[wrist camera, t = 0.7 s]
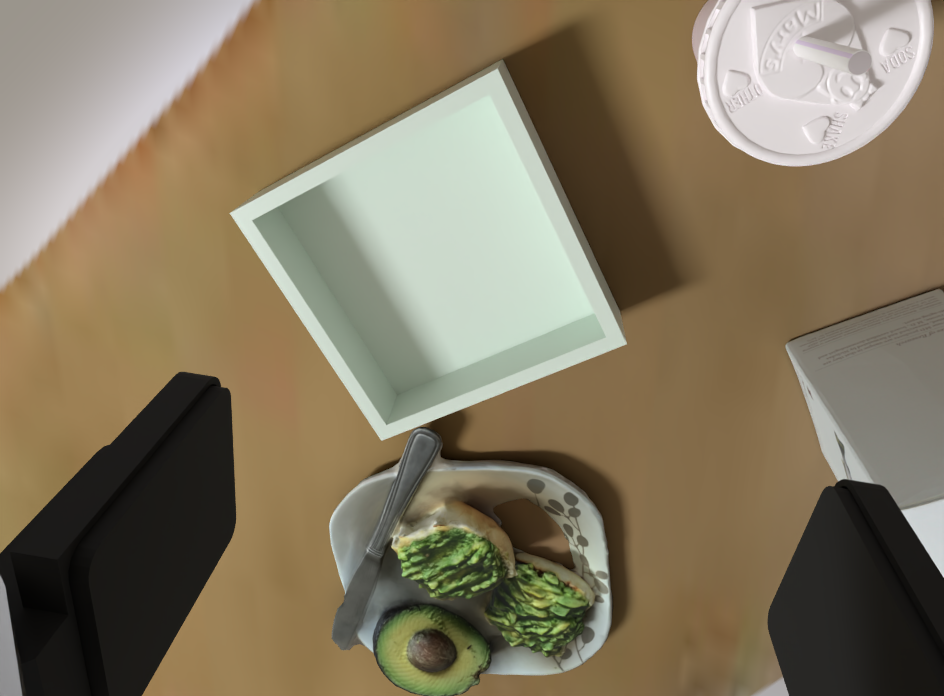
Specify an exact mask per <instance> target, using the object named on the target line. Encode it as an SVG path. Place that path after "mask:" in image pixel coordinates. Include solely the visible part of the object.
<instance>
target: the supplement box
mask: <svg viewBox="0 0 944 696" xmlns="http://www.w3.org/2000/svg"><path fill="white" fill-rule="evenodd" d="M785 347H786V350H787V352H788V354H789V357H790V359H791V361H792V364H793V366H794V369H795V371H796V374H797V376H798V379H799V381H800V384H801V387H802V390H803V393H804V396H805V399H806V402H807V405H808V408H809V410H810V413H811V417H812V420H813V422H814V426H815V429H816V432H817V435H818V439H819V442H820V446H821V449H822V453H823V455H824V456H825V458H826V460H827V461H828V463H829V465H830V467H831V469H832V471H833V472H834V474H835V476H836V478H837V480H838V481H840V480H842V479H848V480H855V481H861V482H867V483H873V484H879V485H882V486H884V487H885V488H886V489H887V490H888V491H889V493H890V494H891V496H892V497H893V499H894V500H895V502H896V504H897V505H898V507H899V508H900V510H901V511H902V513H903V515H904V516H905V518H906V519H907V521H908V522H909V524H910V526H911V527H912V529H913V530H914V532H915V533H916V535H917V537H918V538H919V540H920V541H921V543H922V544H923V546H924V547H925V549H926V551H927V552H928V554H929V555H930V557H931V558H932V560H933V562H934V563H935V565H936V566H937V568H938V569H939V571H940V573H941V574H942V576H943V577H944V292H943V291H942V290H941V289H936V290H934V291H931V292H927V293H925V294H922V295H919V296H916V297H913V298H910V299H907V300H904V301H901V302H899V303H896V304H893V305H890V306H888V307H884V308H881V309H878V310H876V311H873V312H870V313H867V314H865V315H862V316H859V317H856V318H853V319H850V320H847V321H844V322H842V323H839V324H836V325H833V326H830V327H827V328H825V329H822V330H819V331H817V332H814V333H811V334H807V335H805V336H802V337H800V338H797V339H795V340H792V341H790V342H788V343H787V344H786V346H785Z"/></svg>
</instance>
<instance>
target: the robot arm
mask: <svg viewBox="0 0 944 696" xmlns="http://www.w3.org/2000/svg"><path fill="white" fill-rule="evenodd" d="M235 524H236V503H235V479H234V456H233V433H232V410H231V394H230V391H229V389H228V388H223V387H221V384H220V381H219V379H218V378H216V377H212V376H206V375H200V374H194V373H188V372H179V373H178V374H176V375H175V376H174V377H173V378H172V379H171V380H170V381H169V383H168V384H167V385H166V386H165V387H164V388H163V389H162V390H161V391H160V392H159V393H158V394H157V395H156V396H155V397H154V398H153V400H152V401H151V402H150V403H149V404H148V405H147V406H146V407H145V408H144V409H143V410H142V411H141V412H140V413H139V414H138V415H137V417H136V418H135V419H134V420H133V421H132V422H131V423H130V424H129V425H128V426H127V427H126V428H125V429H124V430H123V431H122V432H121V434H120V435H119V436H118V437H117V438H116V439H115V440H114V441H113V442H112V443H111V444H110V445H107V446H104V447H103V448H102V449H100V450H99V451H98V452H97V453H96V454H95V455H94V456H93V457H92V458H91V459H90V460H89V461H88V462H87V463H86V464H85V465H84V466H83V467H82V468H81V469H80V470H79V471H78V473H77V474H76V475H75V476H74V477H73V478H72V479H71V480H70V481H69V482H68V483H67V484H66V485H65V486H64V487H63V488H62V489H61V490H60V491H59V492H58V494H57V495H56V496H55V497H54V498H53V499H52V500H51V501H50V502H49V503H48V504H47V505H46V506H45V507H44V508H43V509H42V510H41V511H40V512H39V513H38V514H37V516H36V517H35V518H34V519H33V520H32V521H31V522H30V523H29V524H28V525H27V526H26V527H25V528H24V529H23V530H22V531H21V532H20V533H19V534H18V535H17V536H16V538H15V539H14V540H13V541H12V542H11V543H10V544H9V545H8V546H7V547H6V548H5V549H4V550H3V551H2V552H1V553H0V696H142V694H143V693H144V691H145V689H146V687H147V686H148V684H149V682H150V680H151V679H152V677H153V675H154V673H155V672H156V670H157V668H158V666H159V665H160V663H161V661H162V659H163V658H164V656H165V654H166V652H167V651H168V649H169V647H170V645H171V644H172V642H173V640H174V638H175V637H176V635H177V633H178V631H179V630H180V628H181V626H182V624H183V623H184V621H185V619H186V617H187V616H188V614H189V612H190V610H191V609H192V607H193V605H194V603H195V602H196V600H197V598H198V596H199V595H200V593H201V591H202V589H203V588H204V586H205V584H206V582H207V581H208V579H209V577H210V575H211V574H212V572H213V570H214V568H215V567H216V565H217V563H218V561H219V560H220V558H221V556H222V554H223V553H224V551H225V549H226V547H227V546H228V544H229V542H230V540H231V538H232V535H233V533H234V529H235ZM768 630H769V634H770V637H771V640H772V643H773V646H774V650H775V653H776V656H777V659H778V662H779V665H780V668H781V671H782V675H783V678H784V681H785V684H786V687H787V690H788V693H789V696H944V577H943V576H942V574H941V573H940V571H939V569H938V568H937V566H936V565H935V563H934V562H933V560H932V558H931V557H930V555H929V554H928V552H927V551H926V549H925V547H924V546H923V544H922V543H921V541H920V540H919V538H918V537H917V535H916V533H915V532H914V530H913V529H912V527H911V526H910V524H909V522H908V521H907V519H906V518H905V516H904V515H903V513H902V511H901V510H900V508H899V507H898V505H897V504H896V502H895V500H894V499H893V497H892V496H891V494H890V493H889V491H888V490H887V489H886V488H885V487H884V486H882V485H879V484H873V483H867V482H861V481H855V480H848V479H842V480H840V481H838V482H837V483H836V485H835V486H834V487H833V486H828V487H826V488H825V489H824V490H823V492H822V493H821V496H820V498H819V500H818V502H817V504H816V507H815V509H814V511H813V513H812V515H811V518H810V520H809V522H808V524H807V526H806V529H805V531H804V533H803V535H802V538H801V540H800V542H799V544H798V546H797V549H796V551H795V553H794V555H793V557H792V560H791V562H790V564H789V566H788V568H787V571H786V573H785V575H784V577H783V579H782V582H781V584H780V586H779V588H778V591H777V593H776V595H775V597H774V599H773V602H772V604H771V606H770V609H769V613H768Z"/></svg>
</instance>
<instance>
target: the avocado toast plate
mask: <svg viewBox="0 0 944 696" xmlns="http://www.w3.org/2000/svg"><path fill="white" fill-rule="evenodd" d="M442 445H443V444H442V439H441V436H440V435H439V434H438V433H437V432H435V431H434V430H432V429H429V428H426V427H419V428H416V429H415V430H413V431H412V433H411V434H410V437H409V440H408V442H407V445H406V447H405V450H404V453H403V455H402V458H401V459H400V461H399V463H398V464H396V465H395V466H394V467H392V468H390V469H387V470H385V471H383V472H381V473H378V474H375V475H373V476H370V477H368V478H365V479H364V480H362V481H361V482H360V483H359V484H358V485H357V486H356V487H355V488H354V489H353V490H351V491H350V492H349V493H348V494H347V496H346V497H345V498H344V499H343V500H342V501H341V503H340V504H339V505H338V506H337V507H336V509H335V510H334V513H333V515H332V517H331V520H330V524H329V529H330V539H331V545H332V550H333V553H334V556H335V561H336V563H337V568H338V571H339V575H340V579H341V581H342V584H343V587H344V589H345V596H344V603H343V604H342V605H341V606H340V607H339V608H338V609H337V613H336V616H335V619H334V624H333V630H332V639H333V641H334V642H335V643H336V644H337V645H338V646H339V647H340V649H341V650H350V649H351V648H352V647H353V646H354V645H357V644H361V645H364V646H366V647H367V648H368V649H369V650H370V651H372V652H373V653H374V655H375V658H376V661H377V664H378V666H379V668H380V669H381V671H382V672H383V674H384V675H385V676H386V677H387V678H388V679H389V680H390V681H391V682H392V683H393V684H394V685H395V686H397V687H400V688H402V689H404V690H406V691H408V692H410V693H414V694H418V695H423V696H454V695H459V694H463V693H464V692H466V691H468V690H469V688H470V687H471V686H474V685H478V684H479V682H480V678H479V675H480V674H500V675H550V674H557V673H563V672H566V671H569V670H572V669H574V668H576V667H578V666H580V665H582V664H584V663H585V662H586V661H587V660H588V659H590V658H591V657H592V656H593V655H594V654H595V653H596V652H597V651H598V650H600V649H601V647H602V646H603V644H604V643H605V641H606V640H607V638H608V634H609V630H610V627H611V622H612V611H613V602H612V601H613V596H612V592H611V587H610V571H609V562H608V554H609V552H608V547H607V539H606V535H605V530H604V524H603V519H602V515H601V513H600V512H599V511H598V509H597V507H596V506H595V504H594V503H593V502H592V501H591V500H590V498H589V497H588V496H587V494H586V493H585V491H583V490H582V489H580V488H579V487H578V486H576V485H575V484H574V483H573V482H571V481H570V480H568V479H566V478H565V477H563V476H562V475H560V474H558V473H557V472H556V471H554V470H552V469H550V468H547V467H542V466H537V465H532V464H524V463H519V462H514V461H505V460H477V461H458V460H448V459H444V458H442V457H441V456H440V450H441V448H442ZM522 498H526V499H527V500H529V501H531V502H532V503H534V504H536V505H537V506H539V507H540V508H542V509H543V510H544V511H546V512H547V513H548V515H549V516H550V517H551V518H552V519H553V520H554V521H555V522H556V523H557V524H558V525H559V526H560V527H561V529H562V531H563V532H564V536H565V538H566V539H567V540H568V542H569V545H570V551H571V554H572V557H573V563H574V569H571V570H569V569H567V568H565V567H563V565H562V564H560V563H557V562H552V561H550V560H548V559H545V558H542V557H538V556H534V555H530V554H528V553H526V552H523V551H522V550H519V549H516V548H514V547H513V546H512V544H511V541H510V539H509V537H508V535H507V534H506V532H505V531H504V530H503V529H502V528H501V527H500V526H501V524H502V522H501V520H500V519H499V518H498V517H497V516H496V515H495V513H494V512H493V509H494V507H495V506H497V505H498V504H502V503H505V502H508V501H512V500H517V499H522Z"/></svg>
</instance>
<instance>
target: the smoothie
mask: <svg viewBox="0 0 944 696" xmlns="http://www.w3.org/2000/svg"><path fill="white" fill-rule="evenodd" d="M933 34H934V19H933V9H932V4H931V0H708V1H707V2H706V4H705V5H704V6H703V8H702V9H701V11H700V12H699V14H698V16H697V19H696V21H695V24H694V28H693V33H692V46H693V51H694V55H695V57H696V60H697V63H698V68H697V81H698V85H699V90H700V95H701V99H702V104H703V106H704V108H705V110H706V112H707V114H708V116H709V118H710V119H711V121H712V123H713V125H714V127H715V128H716V129H717V130H718V131H719V132H720V133H721V134H722V135H723V136H724V137H725V138H726V139H727V140H728V141H729V142H730V143H731V144H732V145H733V146H735V147H737V148H738V149H740V150H742V151H744V152H746V153H747V154H749V155H751V156H753V157H755V158H757V159H760V160H762V161H765V162H769V163H773V164H777V165H784V166H808V165H815V164H820V163H824V162H828V161H831V160H835V159H838V158H840V157H842V156H845V155H847V154H849V153H851V152H853V151H855V150H857V149H859V148H861V147H862V146H864V145H865V144H867V143H869V142H870V141H871V140H873V139H874V138H875V137H877V136H878V135H879V134H880V133H881V132H883V131H884V130H885V129H886V128H887V127H888V126H889V125H890V124H891V123H892V122H893V121H894V120H895V119H896V118H897V117H898V116H899V114H900V113H901V112H902V111H903V110H904V108H905V107H906V105H907V104H908V103H909V101H910V100H911V98H912V97H913V95H914V93H915V92H916V90H917V88H918V86H919V84H920V82H921V80H922V78H923V75H924V73H925V70H926V68H927V64H928V61H929V58H930V54H931V49H932V43H933Z"/></svg>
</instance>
